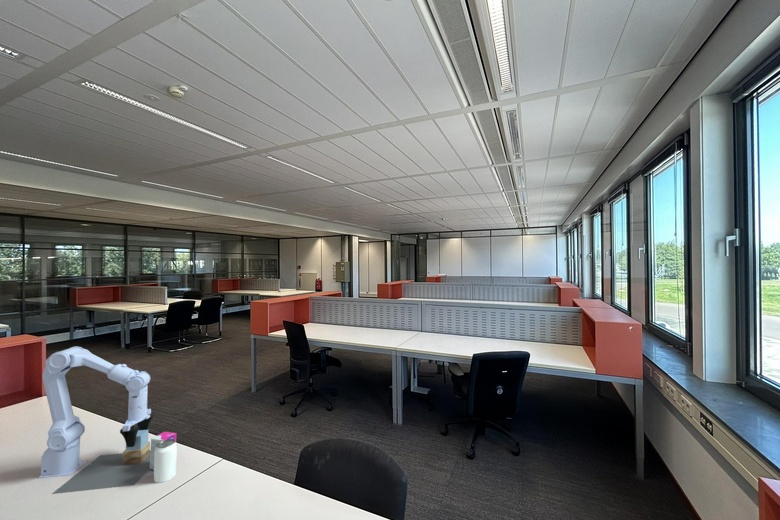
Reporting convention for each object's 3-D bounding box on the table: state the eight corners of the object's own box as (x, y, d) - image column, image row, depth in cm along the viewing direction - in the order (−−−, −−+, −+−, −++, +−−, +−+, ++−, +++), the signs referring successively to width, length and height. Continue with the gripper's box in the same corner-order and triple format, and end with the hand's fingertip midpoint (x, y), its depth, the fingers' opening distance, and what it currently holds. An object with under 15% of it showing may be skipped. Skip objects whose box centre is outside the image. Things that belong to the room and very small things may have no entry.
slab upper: (122, 458, 118) (122, 451, 119) (132, 449, 124) (132, 443, 124) (140, 456, 120) (140, 450, 120) (149, 448, 125) (149, 441, 126)
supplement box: (162, 472, 115) (163, 440, 115) (148, 470, 116) (149, 438, 116) (176, 463, 120) (176, 432, 121) (163, 461, 122) (164, 430, 122)
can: (180, 473, 114) (181, 440, 114) (162, 485, 108) (163, 449, 108) (167, 470, 116) (168, 436, 116) (149, 481, 110) (149, 446, 110)
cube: (125, 450, 119) (126, 437, 119) (133, 443, 124) (134, 430, 124) (140, 449, 120) (140, 436, 120) (148, 442, 125) (148, 429, 125)
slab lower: (122, 465, 118) (122, 458, 118) (132, 456, 124) (132, 449, 124) (140, 463, 119) (140, 456, 120) (149, 454, 125) (149, 448, 125)
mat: (51, 494, 103) (51, 493, 103) (100, 456, 125) (100, 455, 125) (134, 485, 108) (134, 485, 108) (167, 449, 129) (167, 449, 129)
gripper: (138, 412, 116) (137, 450, 116) (159, 397, 130) (158, 430, 130) (116, 414, 115) (115, 452, 114) (140, 398, 129) (139, 432, 129)
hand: (136, 441), depth 122 cm, fingers open, 7 cm apart
